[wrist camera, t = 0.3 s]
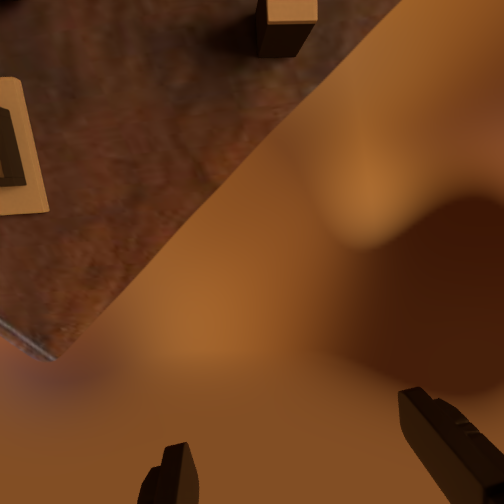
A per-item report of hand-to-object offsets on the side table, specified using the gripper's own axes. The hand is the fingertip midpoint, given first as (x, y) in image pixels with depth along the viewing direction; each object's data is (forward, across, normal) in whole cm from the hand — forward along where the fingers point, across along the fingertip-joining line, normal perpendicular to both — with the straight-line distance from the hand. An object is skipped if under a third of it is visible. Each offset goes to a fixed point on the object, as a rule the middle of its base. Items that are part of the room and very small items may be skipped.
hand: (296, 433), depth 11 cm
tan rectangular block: (+29, -8, -23) cm, 38 cm away
